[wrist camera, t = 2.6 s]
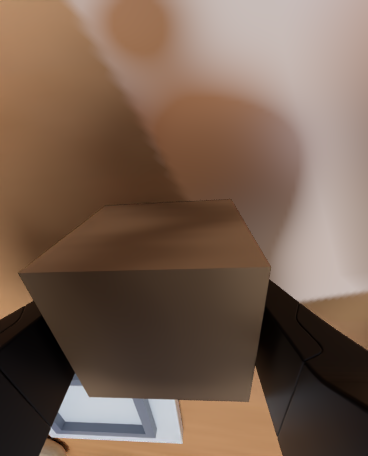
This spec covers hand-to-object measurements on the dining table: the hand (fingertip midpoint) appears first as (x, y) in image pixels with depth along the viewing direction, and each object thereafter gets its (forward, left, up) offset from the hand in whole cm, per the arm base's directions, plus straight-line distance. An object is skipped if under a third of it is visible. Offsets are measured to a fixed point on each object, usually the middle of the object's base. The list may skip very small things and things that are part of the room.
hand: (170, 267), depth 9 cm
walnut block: (0, 0, -1) cm, 1 cm away
